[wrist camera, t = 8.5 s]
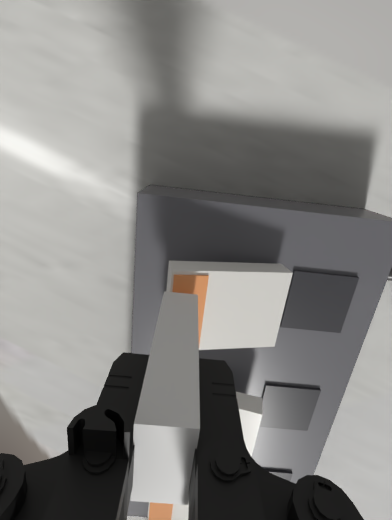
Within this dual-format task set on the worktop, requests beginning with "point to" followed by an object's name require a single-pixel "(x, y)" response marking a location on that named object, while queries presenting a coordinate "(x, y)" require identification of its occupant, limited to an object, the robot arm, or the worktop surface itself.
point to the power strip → (295, 310)
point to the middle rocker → (249, 418)
